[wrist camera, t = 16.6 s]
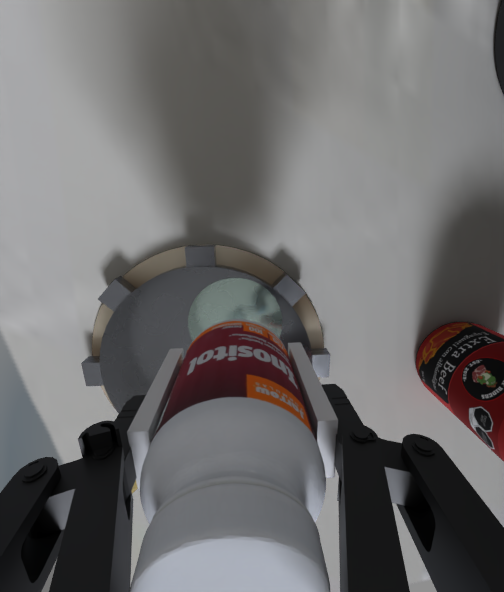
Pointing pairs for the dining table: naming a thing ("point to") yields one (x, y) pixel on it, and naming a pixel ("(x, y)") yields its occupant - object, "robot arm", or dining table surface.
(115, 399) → the sprocket
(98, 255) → the dining table surface
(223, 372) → the pill bottle
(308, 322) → the base
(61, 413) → the dining table surface
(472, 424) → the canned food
